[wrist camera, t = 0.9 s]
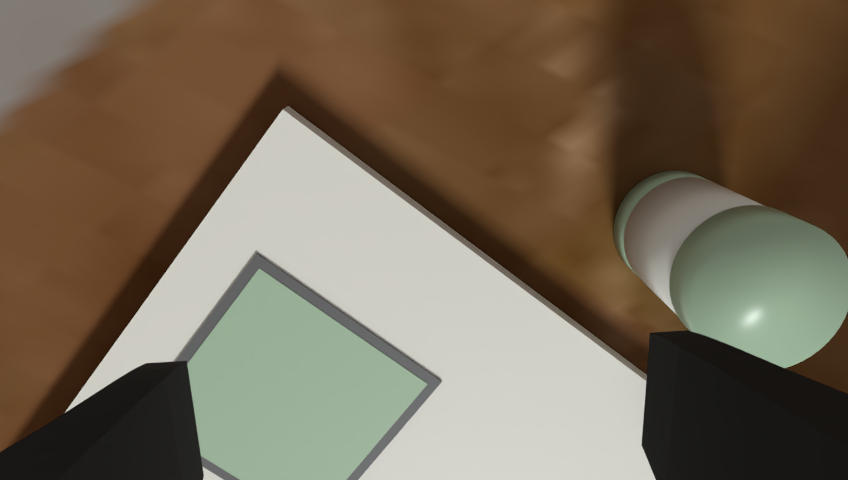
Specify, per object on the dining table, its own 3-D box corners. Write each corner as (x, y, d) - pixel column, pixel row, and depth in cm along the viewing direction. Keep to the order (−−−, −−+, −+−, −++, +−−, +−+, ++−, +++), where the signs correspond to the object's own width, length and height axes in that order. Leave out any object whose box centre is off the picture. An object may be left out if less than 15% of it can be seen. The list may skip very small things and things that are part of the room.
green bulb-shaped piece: (751, 215, 21) (885, 283, 15) (671, 303, 22) (771, 399, 16) (667, 144, 20) (775, 187, 15) (587, 237, 21) (660, 313, 15)
